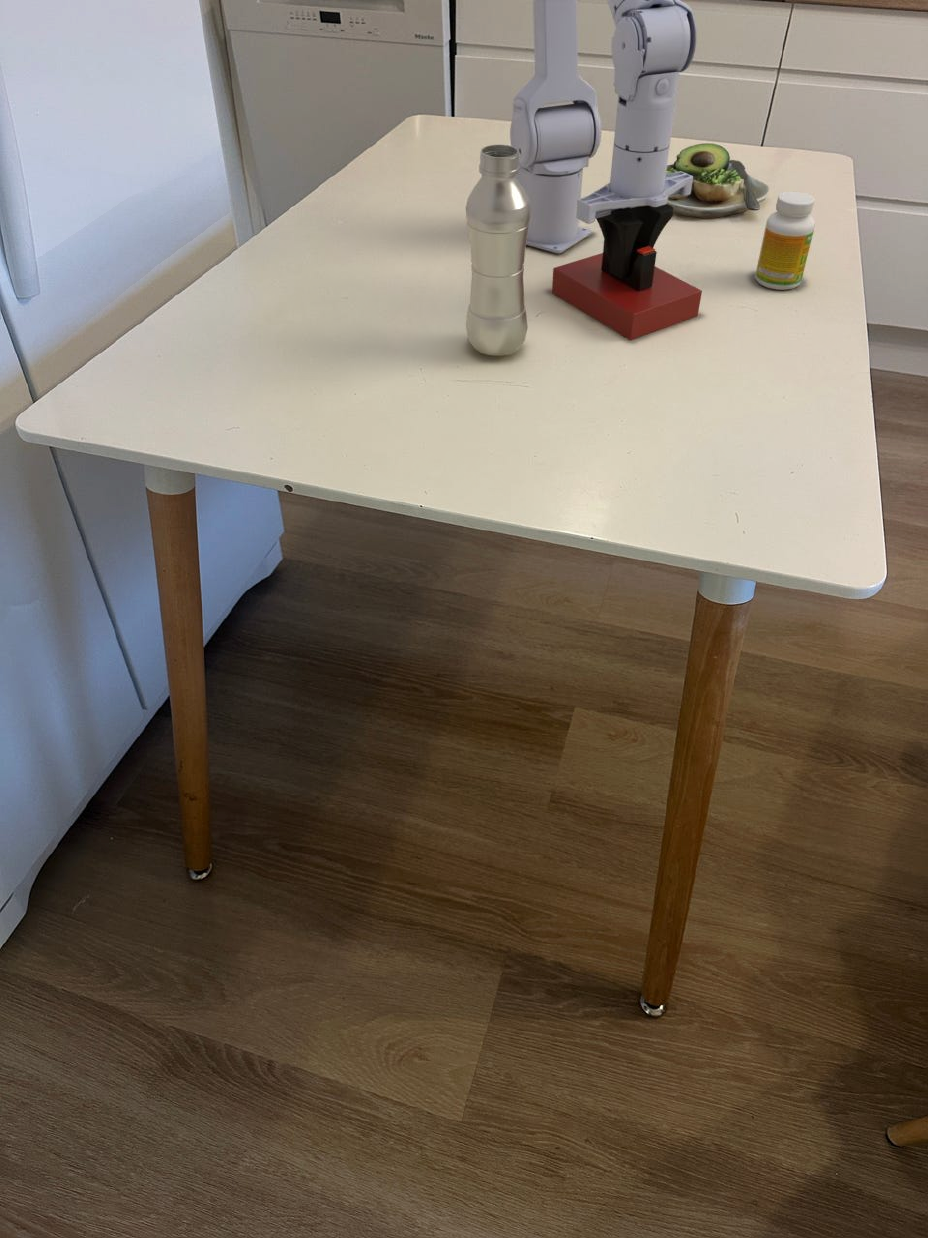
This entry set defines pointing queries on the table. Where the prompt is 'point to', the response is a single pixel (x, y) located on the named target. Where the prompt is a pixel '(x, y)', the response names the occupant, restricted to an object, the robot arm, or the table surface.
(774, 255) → the supplement bottle
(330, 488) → the table surface
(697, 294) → the red rectangular block
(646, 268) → the block
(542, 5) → the robot arm
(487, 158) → the metal water bottle
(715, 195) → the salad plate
